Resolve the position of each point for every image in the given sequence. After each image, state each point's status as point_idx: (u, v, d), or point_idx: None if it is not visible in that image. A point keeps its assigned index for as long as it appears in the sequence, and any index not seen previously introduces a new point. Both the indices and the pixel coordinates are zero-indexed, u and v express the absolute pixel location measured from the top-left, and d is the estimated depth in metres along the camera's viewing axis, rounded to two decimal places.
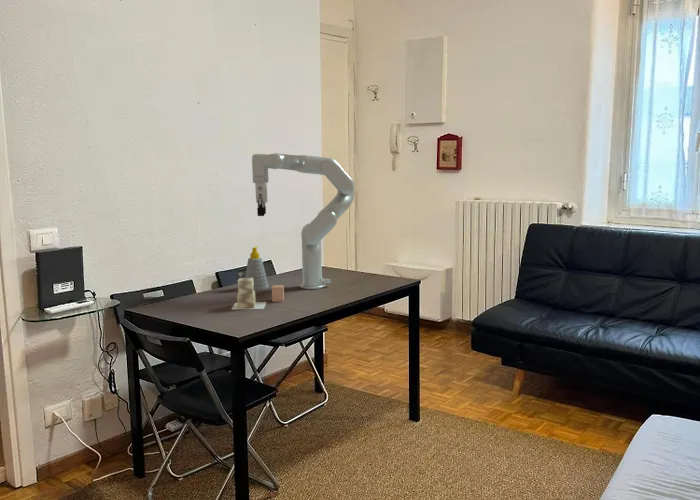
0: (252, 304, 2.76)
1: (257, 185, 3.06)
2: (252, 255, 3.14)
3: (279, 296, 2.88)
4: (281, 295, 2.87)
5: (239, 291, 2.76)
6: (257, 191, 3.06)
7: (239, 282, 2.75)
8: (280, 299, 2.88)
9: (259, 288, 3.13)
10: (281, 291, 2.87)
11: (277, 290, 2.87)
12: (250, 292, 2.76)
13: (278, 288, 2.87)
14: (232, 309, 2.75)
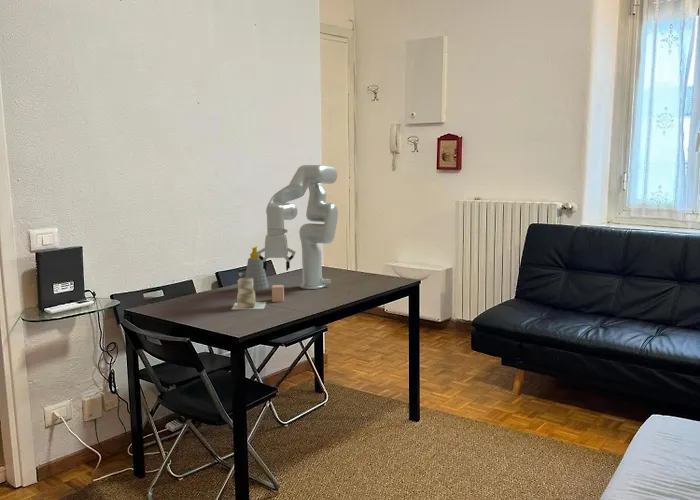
0: (252, 304, 2.76)
1: (285, 238, 2.85)
2: (252, 255, 3.14)
3: (279, 296, 2.88)
4: (281, 295, 2.87)
5: (239, 291, 2.76)
6: (286, 244, 2.85)
7: (239, 282, 2.75)
8: (280, 299, 2.88)
9: (259, 288, 3.13)
10: (281, 291, 2.87)
11: (277, 290, 2.87)
12: (250, 292, 2.76)
13: (278, 288, 2.87)
14: (232, 309, 2.75)
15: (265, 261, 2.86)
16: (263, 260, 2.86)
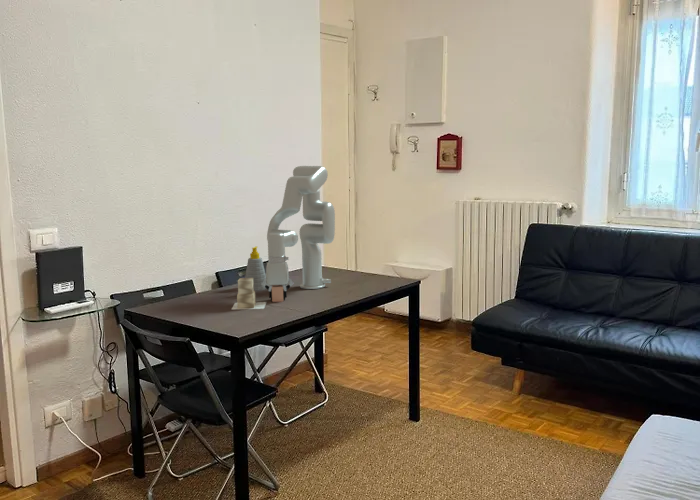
0: (252, 304, 2.76)
1: (286, 265, 2.87)
2: (252, 255, 3.14)
3: (279, 296, 2.87)
4: (281, 295, 2.87)
5: (239, 291, 2.76)
6: (287, 271, 2.87)
7: (239, 282, 2.75)
8: (280, 299, 2.88)
9: (259, 288, 3.13)
10: (281, 291, 2.87)
11: (277, 290, 2.87)
12: (250, 292, 2.76)
13: (278, 288, 2.87)
14: (232, 309, 2.75)
15: (271, 290, 2.89)
16: (269, 290, 2.88)
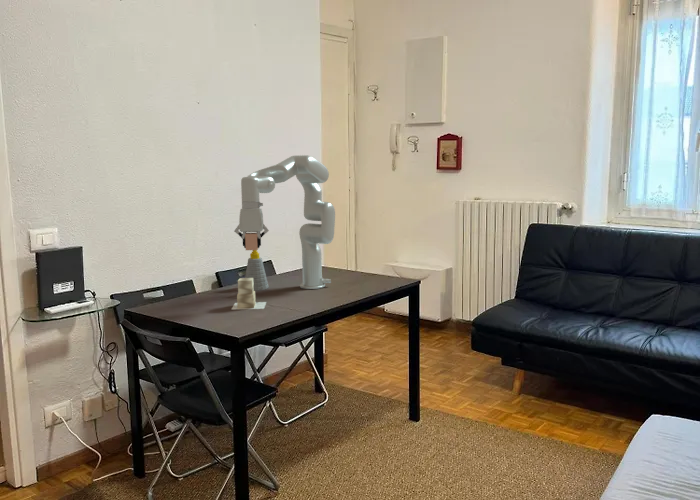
0: (252, 304, 2.76)
1: (260, 211, 2.75)
2: (252, 255, 3.14)
3: (253, 243, 2.75)
4: (255, 242, 2.75)
5: (239, 291, 2.76)
6: (262, 218, 2.75)
7: (239, 282, 2.75)
8: (254, 247, 2.76)
9: (259, 288, 3.13)
10: (255, 238, 2.75)
11: (251, 237, 2.75)
12: (250, 292, 2.76)
13: (252, 235, 2.75)
14: (232, 309, 2.75)
15: None
16: (242, 237, 2.76)
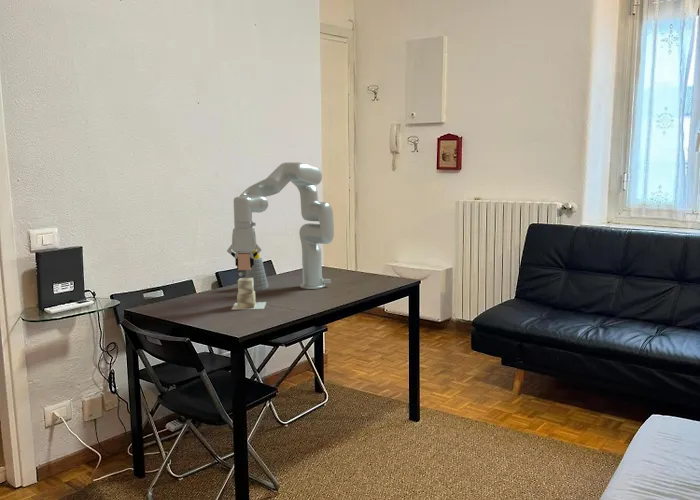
0: (252, 304, 2.76)
1: (253, 231, 2.74)
2: None
3: (245, 263, 2.74)
4: (248, 262, 2.74)
5: (239, 291, 2.76)
6: (254, 238, 2.74)
7: (239, 282, 2.75)
8: (247, 266, 2.75)
9: (259, 288, 3.13)
10: (248, 258, 2.74)
11: (244, 257, 2.74)
12: (250, 292, 2.76)
13: (244, 255, 2.74)
14: (232, 309, 2.75)
15: (237, 258, 2.76)
16: (235, 257, 2.75)
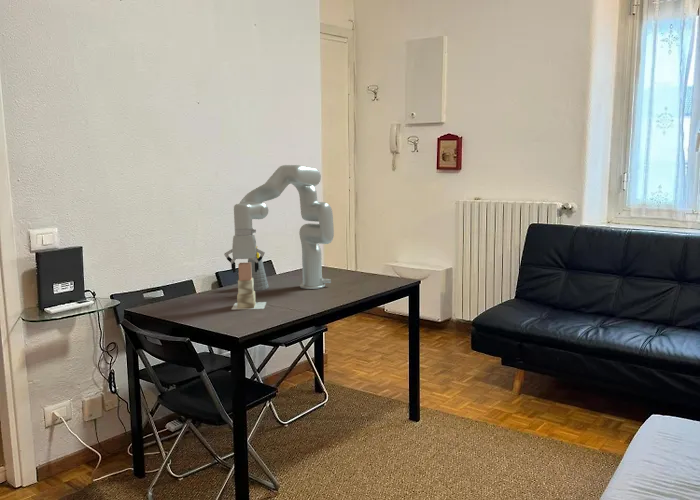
0: (252, 304, 2.76)
1: (253, 238, 2.74)
2: None
3: (246, 274, 2.75)
4: (248, 273, 2.75)
5: (239, 291, 2.76)
6: (255, 244, 2.75)
7: (239, 282, 2.75)
8: (247, 277, 2.75)
9: (259, 288, 3.13)
10: (248, 268, 2.75)
11: (244, 267, 2.75)
12: (250, 292, 2.76)
13: (245, 265, 2.75)
14: (232, 309, 2.75)
15: (233, 262, 2.76)
16: (231, 261, 2.75)
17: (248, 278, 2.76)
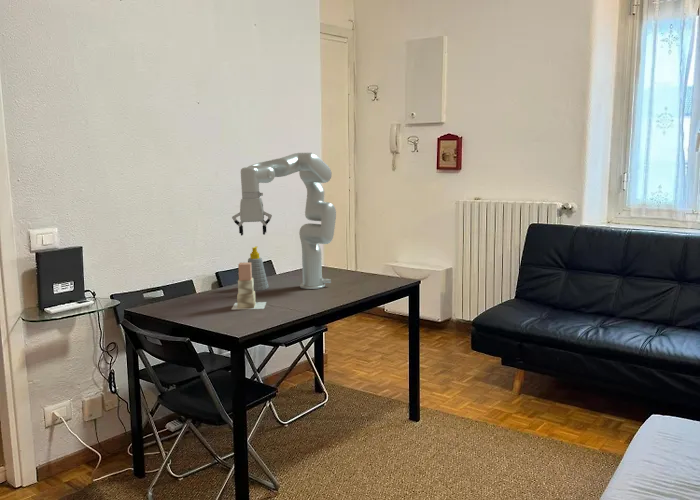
0: (252, 304, 2.76)
1: (261, 201, 2.78)
2: (252, 255, 3.14)
3: (246, 274, 2.75)
4: (248, 273, 2.75)
5: (239, 291, 2.76)
6: (262, 207, 2.79)
7: (239, 282, 2.75)
8: (247, 277, 2.75)
9: (259, 288, 3.13)
10: (248, 268, 2.75)
11: (244, 267, 2.75)
12: (250, 292, 2.76)
13: (245, 265, 2.75)
14: (232, 309, 2.75)
15: (241, 226, 2.80)
16: (239, 225, 2.80)
17: (248, 278, 2.76)
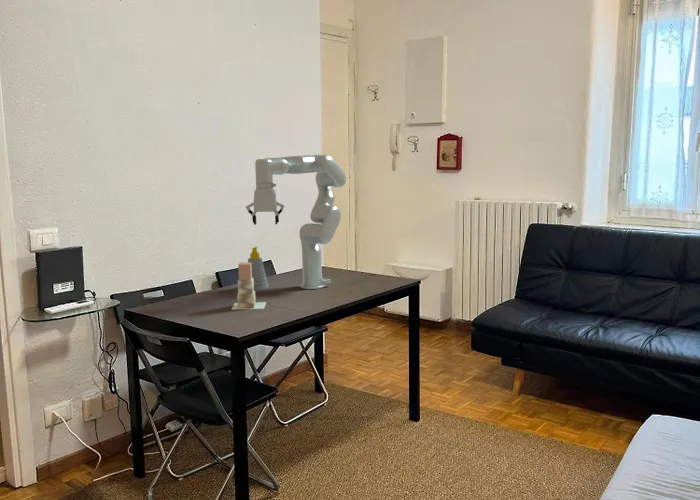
0: (252, 304, 2.76)
1: (274, 192, 2.88)
2: (252, 255, 3.14)
3: (246, 274, 2.75)
4: (248, 273, 2.75)
5: (239, 291, 2.76)
6: (275, 198, 2.89)
7: (239, 282, 2.75)
8: (247, 277, 2.75)
9: (259, 288, 3.13)
10: (248, 268, 2.75)
11: (244, 267, 2.75)
12: (250, 292, 2.76)
13: (245, 265, 2.75)
14: (232, 309, 2.75)
15: (254, 215, 2.90)
16: (252, 214, 2.90)
17: (248, 278, 2.76)
